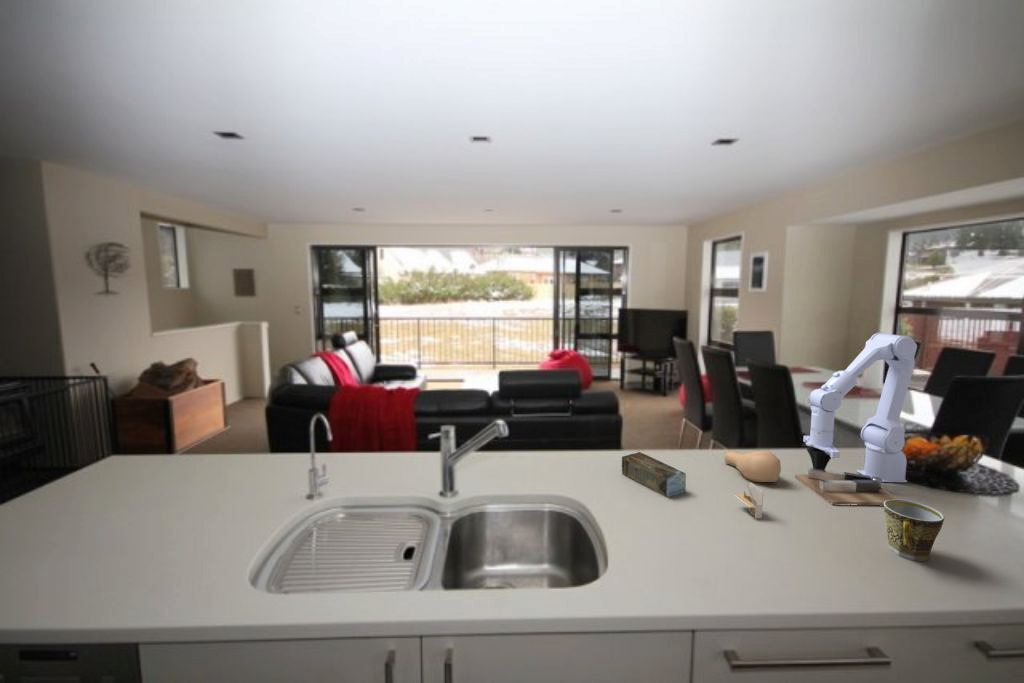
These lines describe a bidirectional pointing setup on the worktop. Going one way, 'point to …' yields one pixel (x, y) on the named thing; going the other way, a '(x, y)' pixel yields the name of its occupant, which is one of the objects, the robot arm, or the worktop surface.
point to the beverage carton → (654, 474)
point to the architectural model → (753, 500)
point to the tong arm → (839, 476)
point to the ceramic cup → (911, 528)
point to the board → (847, 494)
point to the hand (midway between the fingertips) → (818, 472)
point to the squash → (755, 465)
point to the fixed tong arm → (849, 486)
